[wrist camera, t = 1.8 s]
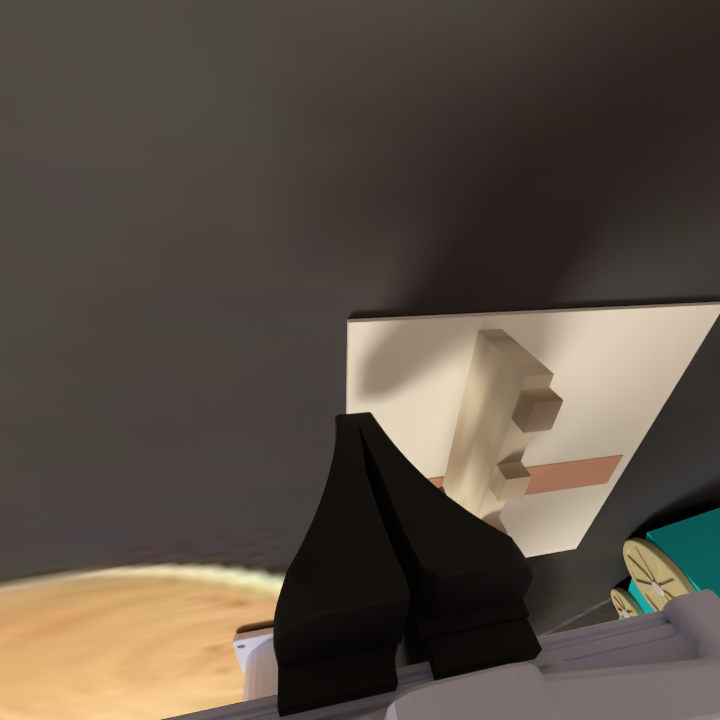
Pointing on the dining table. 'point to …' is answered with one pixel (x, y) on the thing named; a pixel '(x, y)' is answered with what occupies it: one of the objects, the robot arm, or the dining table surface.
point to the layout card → (570, 382)
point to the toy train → (670, 564)
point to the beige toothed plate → (498, 425)
